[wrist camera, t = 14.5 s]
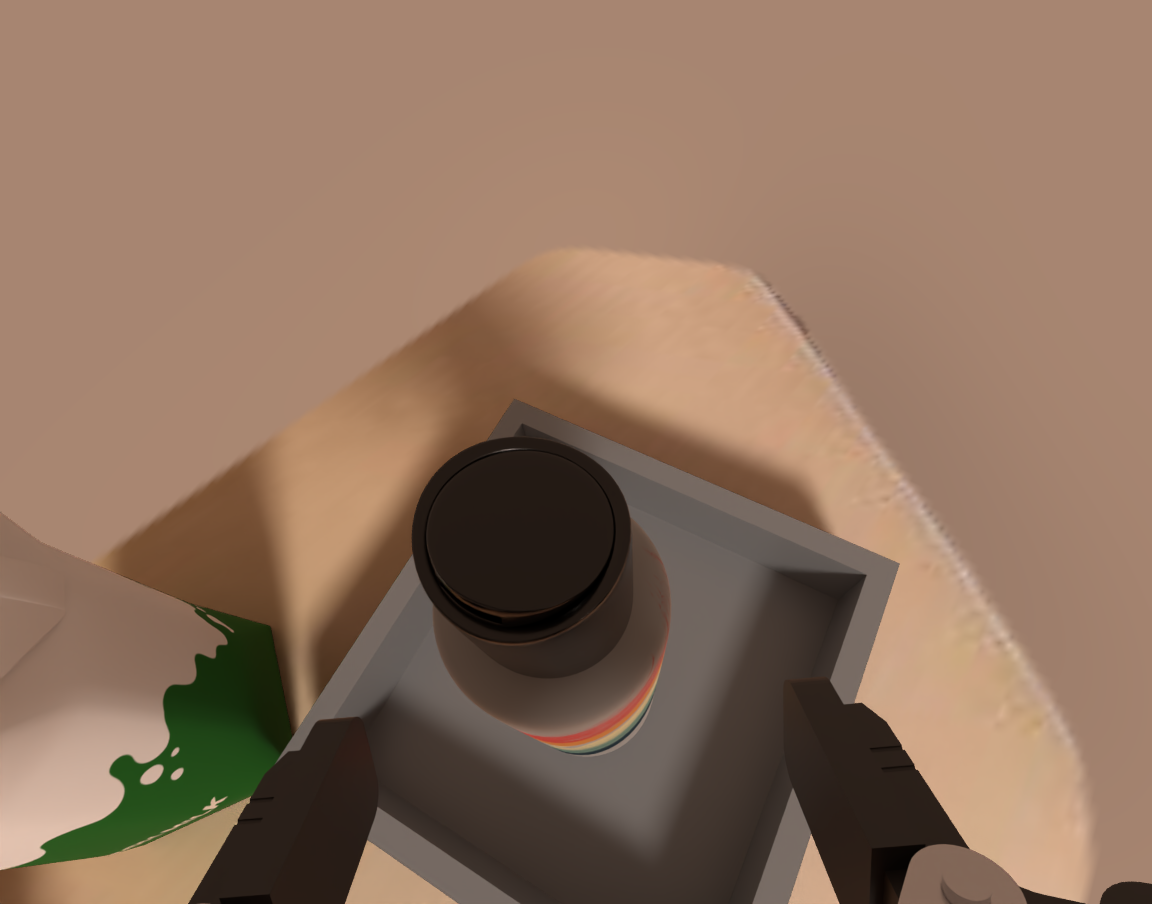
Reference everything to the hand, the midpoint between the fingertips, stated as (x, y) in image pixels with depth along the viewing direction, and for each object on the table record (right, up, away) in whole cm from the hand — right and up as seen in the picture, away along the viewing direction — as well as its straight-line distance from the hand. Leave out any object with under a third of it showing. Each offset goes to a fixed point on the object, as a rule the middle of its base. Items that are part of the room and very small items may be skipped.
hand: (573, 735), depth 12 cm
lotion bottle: (+1, -5, +16) cm, 17 cm away
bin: (+1, -5, +17) cm, 18 cm away
